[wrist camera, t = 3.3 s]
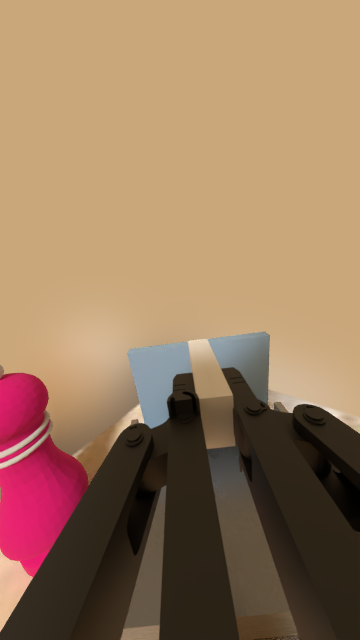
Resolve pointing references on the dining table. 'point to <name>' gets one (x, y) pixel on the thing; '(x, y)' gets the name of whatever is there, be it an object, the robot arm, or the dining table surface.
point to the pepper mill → (32, 473)
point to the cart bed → (240, 552)
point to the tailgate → (170, 359)
